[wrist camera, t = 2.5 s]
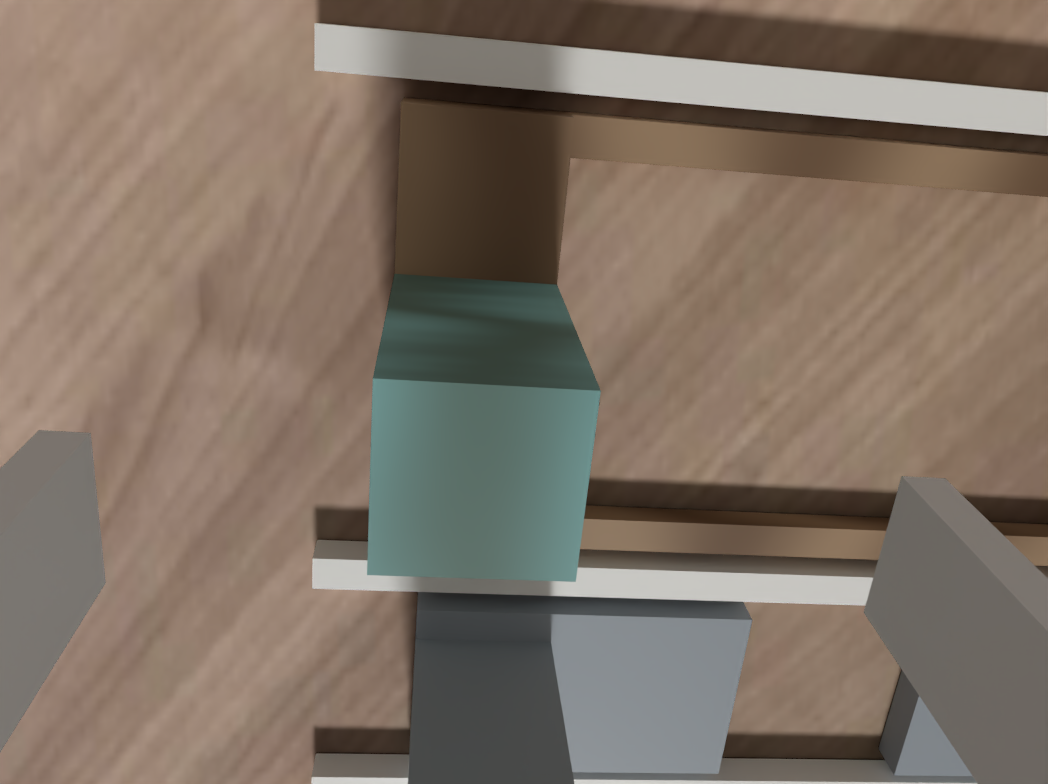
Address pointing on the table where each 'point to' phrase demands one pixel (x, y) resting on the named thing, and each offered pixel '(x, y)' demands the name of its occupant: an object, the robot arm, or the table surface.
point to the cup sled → (566, 342)
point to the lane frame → (910, 732)
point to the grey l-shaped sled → (571, 686)
